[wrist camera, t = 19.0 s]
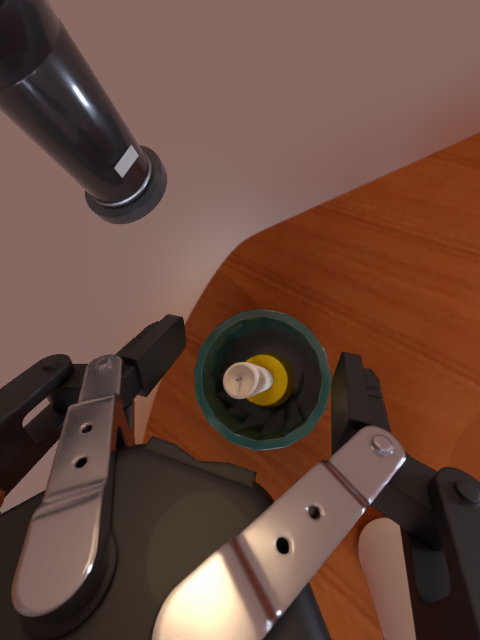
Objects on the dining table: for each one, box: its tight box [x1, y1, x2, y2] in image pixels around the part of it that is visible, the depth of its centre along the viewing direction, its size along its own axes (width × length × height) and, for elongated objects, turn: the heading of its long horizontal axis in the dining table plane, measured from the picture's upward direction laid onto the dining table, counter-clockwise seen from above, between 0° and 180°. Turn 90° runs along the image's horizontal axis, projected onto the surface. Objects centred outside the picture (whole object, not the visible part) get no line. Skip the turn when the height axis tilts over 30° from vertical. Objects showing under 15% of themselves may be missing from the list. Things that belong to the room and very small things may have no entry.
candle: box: [223, 352, 295, 407], centre depth 17 cm, size 5×5×16 cm
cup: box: [194, 309, 332, 451], centre depth 21 cm, size 9×9×9 cm
